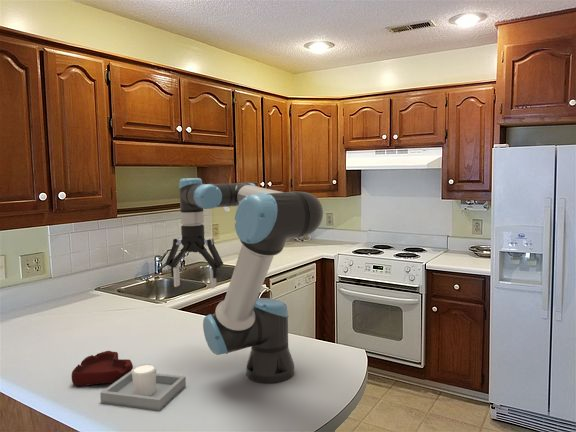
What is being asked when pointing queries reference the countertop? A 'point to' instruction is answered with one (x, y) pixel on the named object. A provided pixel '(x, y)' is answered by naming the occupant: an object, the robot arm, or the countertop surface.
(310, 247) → the countertop surface
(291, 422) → the countertop surface
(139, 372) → the white cup
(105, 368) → the ashtray
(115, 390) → the tray
